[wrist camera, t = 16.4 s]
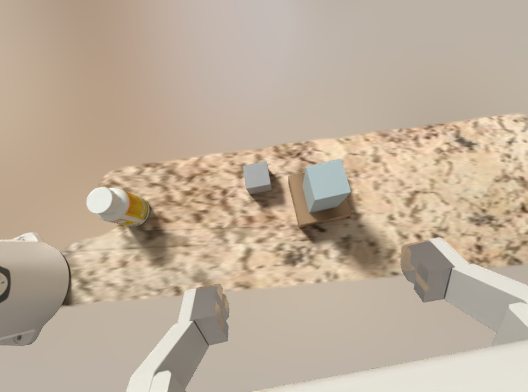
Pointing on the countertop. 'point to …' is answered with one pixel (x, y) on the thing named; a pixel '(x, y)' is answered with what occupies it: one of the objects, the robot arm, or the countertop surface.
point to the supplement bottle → (118, 206)
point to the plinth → (302, 208)
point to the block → (257, 178)
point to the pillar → (325, 185)
